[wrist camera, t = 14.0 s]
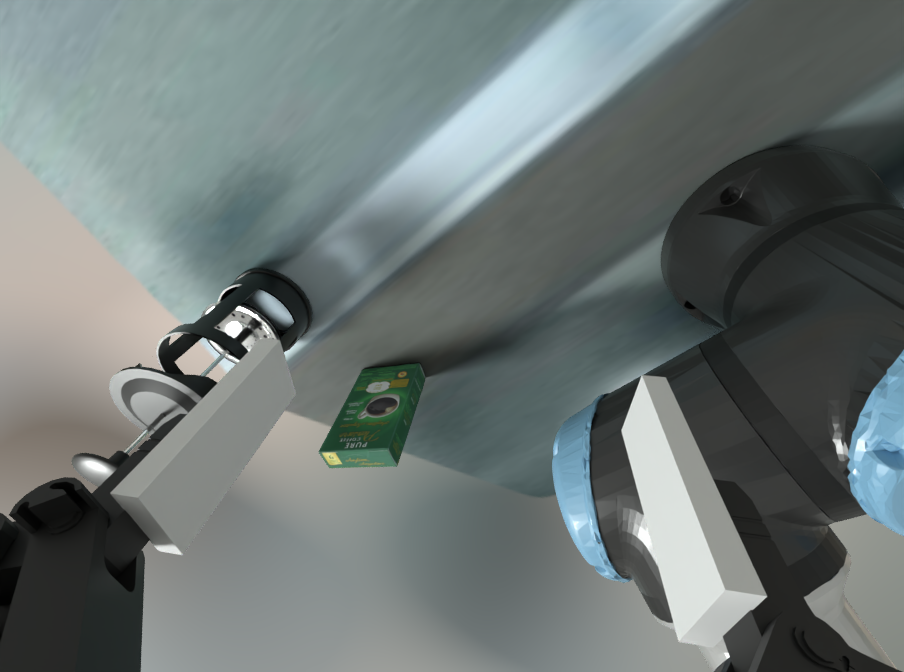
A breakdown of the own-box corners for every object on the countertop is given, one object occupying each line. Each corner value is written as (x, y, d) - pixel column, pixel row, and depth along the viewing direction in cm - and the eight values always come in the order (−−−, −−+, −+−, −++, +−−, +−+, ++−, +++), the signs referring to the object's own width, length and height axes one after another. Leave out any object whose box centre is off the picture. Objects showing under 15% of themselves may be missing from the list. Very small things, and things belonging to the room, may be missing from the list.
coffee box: (368, 385, 50) (327, 471, 39) (359, 368, 48) (315, 453, 38) (426, 378, 48) (400, 468, 37) (420, 361, 46) (390, 449, 36)
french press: (224, 255, 42) (-12, 410, 23) (309, 271, 41) (138, 442, 23) (244, 341, 49) (74, 514, 30) (316, 355, 48) (190, 539, 30)
